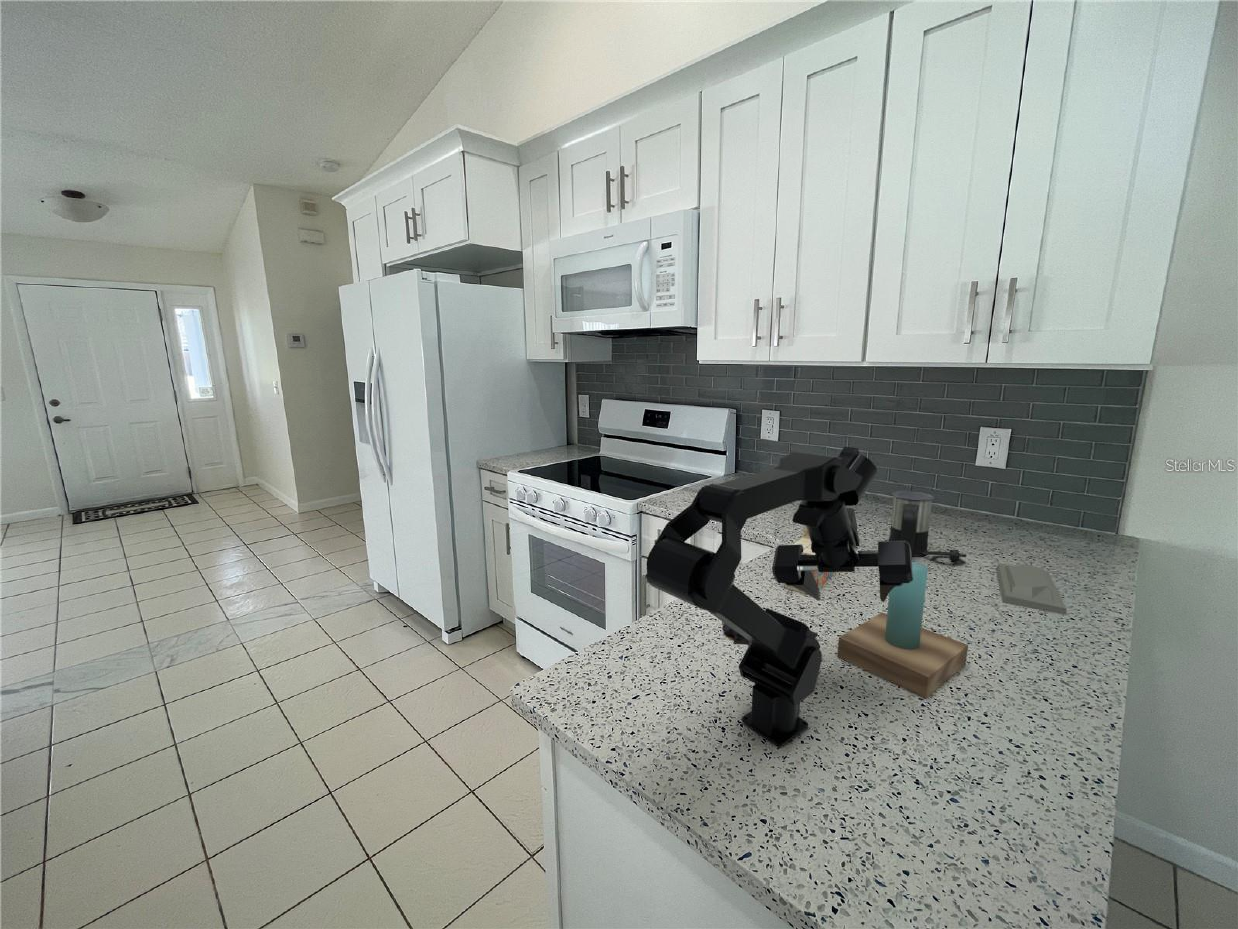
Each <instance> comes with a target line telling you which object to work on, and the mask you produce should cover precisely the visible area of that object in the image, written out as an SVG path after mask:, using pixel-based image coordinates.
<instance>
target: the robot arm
mask: <svg viewBox="0 0 1238 929" xmlns="http://www.w3.org/2000/svg"><path fill="white" fill-rule="evenodd" d="M877 474H878V468H877V466H876V465H875V464H874V463H873V461H872V460H871V459H869V458H868V457H867V456H866V455H864V454H861V453H860V449H859V448H858V447H851V446H844V447H843V448H842V450H841V451H840V453H839V455H837V456H834V455H827V454H826V455H825V454H822V453H821V454H820V453H819V454H818V453H812V452H805V451H800V450H799V451H798V450H794V451H792V452H790V453H788V454H787V455H785V456H783V457H781V458H779V460H778V463H777V465H776V467H773V468H770V469H767V470H763V471H760V472H756V473H753V474H749V475H746V476H745V475H744V476H741V477H739V478H735V479H732V480H727V481H725V482H721V483H710V484H705V485H703V486H701V488H700V489H699V490H698V492H697V493H696V495H695V497H694V499H693V500H692V502H691V504H690V505H689V506H687V507H686V508H685V509H684V510H682V511H681V512H680V513H678V514H677V515H675V516H673V518H672V519H671V520H668V522H667V523H666V524H665V526H664V527H663V529H662V530H661V533H660V534H659V536H658V538H657V539H656V541H655V542H654V545H653V546H652V548H651V550H650V551H649V553H648V556H647V558H646V565H645V566H646V574H645V579H646V581H647V583H648V584H649V585H650V586H651V587H653V588H655V589H656V590H659V591H661V592H663V593H665V594H667V595H670V596H673V597H674V598H676V599H679V600H680V601H683V602H685V603H687V604H689V605H691V606H694V607H696V608H698V609H700V610H704V611H707V612H708V613H710V614H711V615H712V616H714V617H715V618H717V619H718V620H719V621H721V622H724V623H725V624H726V625H728V626H729V627H731V628H732V629H733V630H735V631H736V632H737V633H739V634H740V635H742V636H743V637H744V638H746V639H747V640H749V641H750V643H749V645H747V649H746V651H745V653H744V654H743V656H742V658H741V659H740V662H739V664H738V670H739V673H740V677H742V678H744V679H746V680H748V681H750V682H752V683H754V685H752V690H751V710H750V711H749V712H748V713H746V714H745V715H743V716H742V717H741V722H742V723H743V724H745V725H746V726H748V727H749V728H750V729H752V730H754V731H755V732H756V733H758V734H759V735H761V737H763V738H765V739H766V740H768V741H770V742H771V743H772V744H773V745H775V746H777V747H779V748H780V747H781V748H782V747H783V746H785V745H786V744H788V743H789V742H791V741H792V740H793V739H795V738H796V737H797V736H798V735H800V734H802V733H803V732H805V731H806V730H807V729H808V728H809V722H807V721H806V720H805V719H803V718H801V717H800V716H799V715H800V708H801V703H802V701H804V700H805V699H806V698H807V697H809V696H811V695H812V694H813V693H814V692H815V689H816V685H817V681H818V676H819V673H820V669H821V665H822V661H823V660H822V659H823V654H822V650H821V644H820V642H819V640H818V639H817V637H818V633H817V632H815V631H813V630H811V629H810V627H809V626H808V625H807V624H805V623H804V622H802V621H800V620H798V619H794V618H792V617H790V616H788V615H785V614H783V613H780V612H778V611H776V610H773V609H771V608H768V607H766V608H765V609H764V608H763V607H761V606H760V605H759V604H758V603H756V601H754V600H753V599H752V598H751V597H749V596H748V595H747V594H746V593H744V592H743V591H742V590H741V589H740V588H739V587H737V586H736V585H735V584H734V583H735V579H736V574H735V572H736V570H737V568H738V567H739V565H740V563H741V560H742V530H743V528H744V527H745V525H746V522H747V520H748V519H751V518H754V517H756V516H760V515H761V514H765V513H767V512H770V511H773V510H775V509H778V508H781V507H784V506H786V505H789V504H792V503H795V502H797V501H800V503H799V505H798V508H797V509H796V511H795V512H794V513H793V516H792V523H793V524H798V525H801V526H803V525H805V526H806V527H807V530H808V534H809V537H810V540H811V550H812V553H815V555H801V553H802V552H803V550H804V549H803V546H802V544H799V545H793V544H779V545H777V546H776V548H775V549H774V556H773V561H772V567H771V568H772V570H771V571H772V575H773V577H774V580H775V582H777V584H784V585H785V584H786V585H787V586H793V587H795V588H797V589H799V590H801V591H803V592H805V593H807V594H806V595H808V596H809V597H812V598H813V599H814V600H816V601H821V599H822V598H821V597H822V596H821V591H820V589H819V588H818V585H817V583H816V581H815V579H814V576H813V574H812V572H811V571H819V572H836V573H855V572H856V568H868V567H869V568H873V567H877V568H878V576H879V577H878V578H879V583H878V584H879V598H880V599H879V600H880V601H881V602H882V603H883V602H885V601H886V599H887V597H889V592H890V591H891V590H892V589H893V588H894V587H895V586H901V585H903V583H910V582H911V581H912V580H913V571H912V561H913V559H912V558H913V556H912V554H911V548H910V544H909V543H907V542H906V541H889V540H886V541H878V543H877V549H875V550H874V549H871V550H858V547H860V537H859V533H858V529H859V527H858V524H857V522H858V521H857V518H856V512H855V509H854V508H852V507H851V506H857V505H858V504H859V502H860V501H861V499H862V497H863V496H864V495H865V493H866V492H867V490H868V489H869V488H870V486H871V485H872V483H873V482H874V480H875V479H876V477H877ZM846 506H848V507H846ZM711 521H713V522H716V523H720V524H721V543H720V545H719V547H718V548H717V550H716V552H714V551H713V550H709V549H706V548H703V547H699V546H697V545H694V544H691V543H688V542H686V541H687V540H688V539H690V538H691V537H692V536H694V535H696V534H697V532H699V531H701V530H702V529H703V528H704V527H705V526H706V525H708V524H709V523H710V522H711ZM805 593H804V594H805Z"/></svg>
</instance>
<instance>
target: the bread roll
mask: <svg viewBox="0 0 1238 929" xmlns="http://www.w3.org/2000/svg"><path fill="white" fill-rule="evenodd" d="M721 622H722V621H721ZM722 629H723V631H724V634H725V635H726V637H727V639H728V640H730V641H732V642H733V645H744V646H745V645H746V646H748V645H749V643H750V641H749V640H747V639H746V638H744V637H743V636H742V635H740V634H739V633H737V632H736V631H735V630H733V629H732V628H731V627H729V626H728V625H726V624H725V623H724V622H722Z"/></svg>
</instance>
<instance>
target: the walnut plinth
mask: <svg viewBox="0 0 1238 929" xmlns="http://www.w3.org/2000/svg"><path fill="white" fill-rule="evenodd" d="M886 621H887V613H884V612H880V613H879V614H877V615H875V616H873V617H871V618H870V619H868V620H867V621H865V622H863V623H861V624H859V625H858V626H856V627H855V628H853V629H851V630H849V631H847V632H846V633H844V634H842V635H840V636H839V637H838V644H837V645H838V646H837V657H838V658H839V659H842V660H844V661H846V662H847V663H850V664H852V665H854V666H857V667H858V668H861V669H863V670H864V671H867V672H869V673H871V674H874V675H876V676H878V677H880V678H882V679H884V680H886V681H888V682H891V683H892V684H894V685H896V686H899V687H900V688H903V689H905V690H908V692H911V693H914V694H916V695H918V696H920V697H922V698H924V699H927V698H929V697H930V696H931V695H932V694H933V693H935V692H936V691H937V690H938V689H939V688H940V687H941V686H942V685H944V684H945V683H946V682H948V681H949V680H950V679H951V678H952V677H953V676H955V675H956V674H957V673H958V672H960V670H961V669H963V668H964V667H965V666H966V665H967V658H968V651H969V644H967V643H964V642H961V641H959V640H956V639H953V638H951V637H948V636H946V635H942V634H940V633H938V632H935V631H932V630H931V629H927V628H923V627H921V637H920V646H919V647H918V648H916V649H902V648H898V647H895V646H893V645H891V644H889V643H888V642H887V641H886V640H885V632H886Z"/></svg>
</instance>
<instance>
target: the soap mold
mask: <svg viewBox="0 0 1238 929" xmlns="http://www.w3.org/2000/svg"><path fill="white" fill-rule="evenodd" d="M995 573H996V577H997V582H998V587H999V588H998V589H999V593H1000V597H1001V602H1002V603H1003V604H1008V605H1014V606H1020V607H1024V608H1029V609H1033V610H1039V611H1046V612H1050V613H1056V614H1061V615H1066V616H1067V614H1068V613H1067V607H1066V605H1065V603H1064V601H1063V599H1062V596H1061V595H1060V593H1059V590H1058V588H1057V586H1056V585H1055V582H1054V581H1053V580H1054V579H1053V578H1052V576H1051V574H1050V572H1049V570H1043V568H1042V567H1038V566H1033V565H1030V564H1025V563H1024V564H1015V565H1014V564H1013V565H1012V564H1004V563H998V564H997V565H996V568H995Z"/></svg>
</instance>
